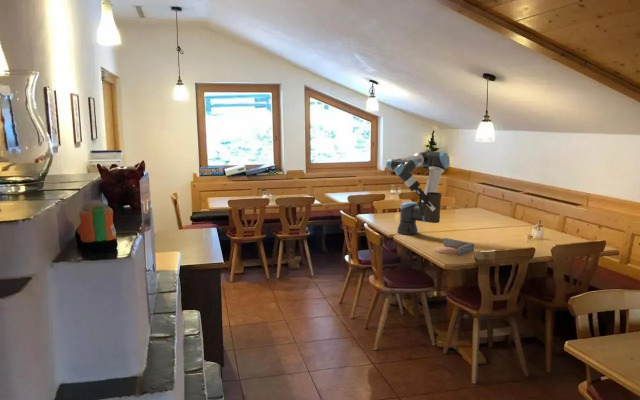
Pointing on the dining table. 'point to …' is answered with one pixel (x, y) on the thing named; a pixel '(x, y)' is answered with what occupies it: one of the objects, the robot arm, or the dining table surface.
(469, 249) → the wall corner
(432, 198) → the beer stein
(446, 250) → the terracotta mat
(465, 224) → the dining table surface
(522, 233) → the dining table surface
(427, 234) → the dining table surface
